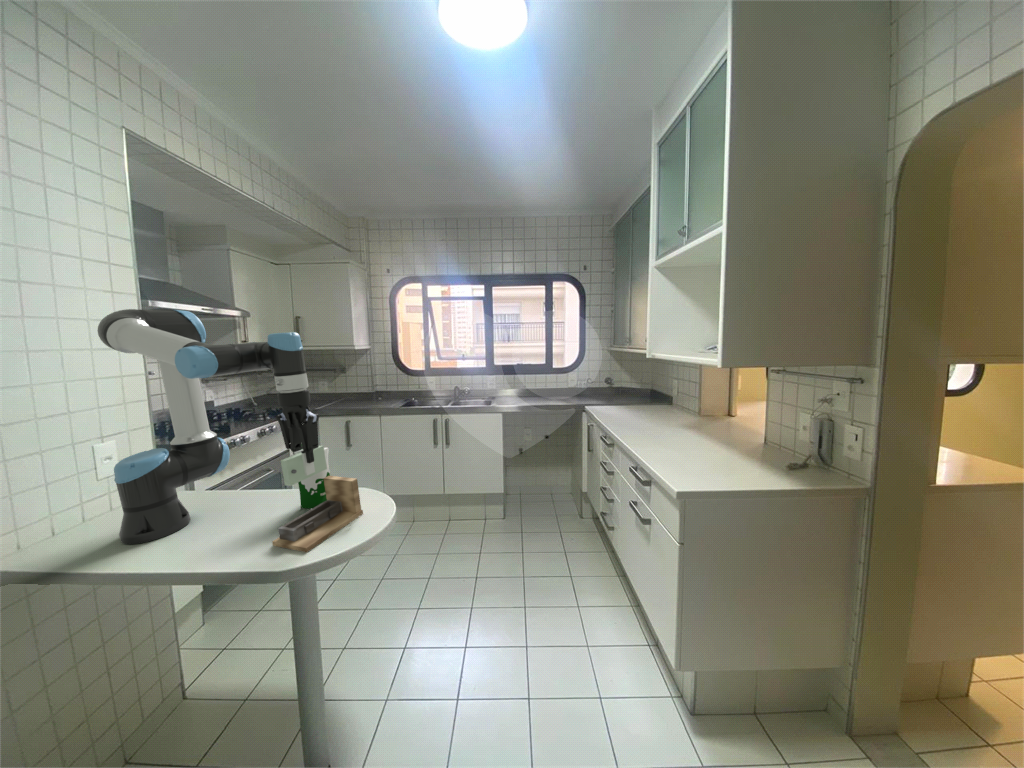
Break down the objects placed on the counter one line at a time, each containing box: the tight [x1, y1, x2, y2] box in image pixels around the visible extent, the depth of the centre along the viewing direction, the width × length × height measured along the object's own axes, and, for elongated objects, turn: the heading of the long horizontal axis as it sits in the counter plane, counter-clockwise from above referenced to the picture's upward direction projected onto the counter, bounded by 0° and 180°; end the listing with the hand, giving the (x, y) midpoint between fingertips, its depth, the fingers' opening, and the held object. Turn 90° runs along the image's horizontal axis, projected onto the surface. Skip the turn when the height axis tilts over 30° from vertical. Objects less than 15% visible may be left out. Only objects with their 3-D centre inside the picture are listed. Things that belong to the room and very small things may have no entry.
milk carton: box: [290, 443, 331, 510], centre depth 120 cm, size 9×9×20 cm
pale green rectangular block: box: [280, 445, 327, 487], centre depth 103 cm, size 3×12×7 cm, turn 160°
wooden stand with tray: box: [271, 475, 364, 553], centre depth 104 cm, size 12×20×11 cm, turn 160°
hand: (306, 473), depth 103 cm, fingers closed on pale green rectangular block, 2 cm apart
